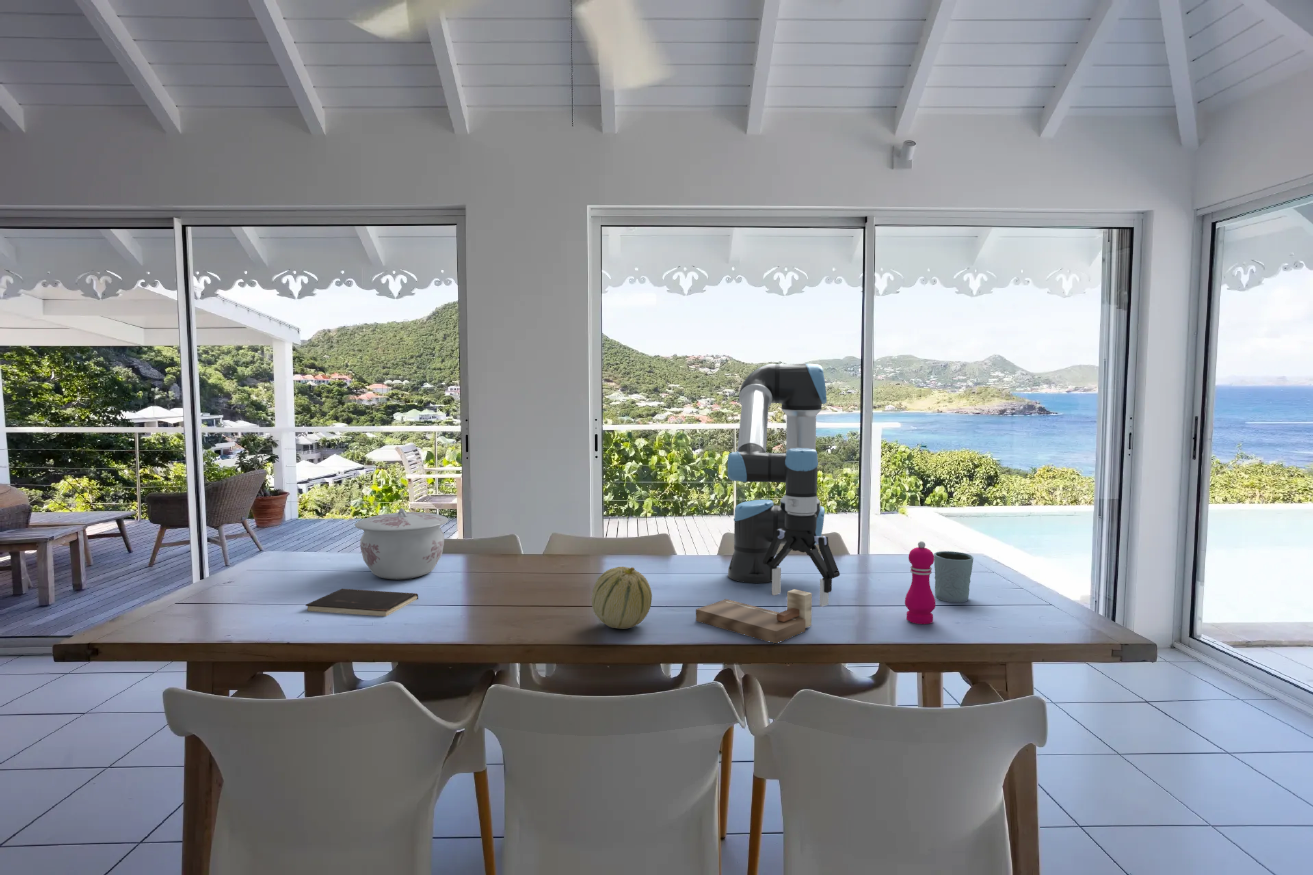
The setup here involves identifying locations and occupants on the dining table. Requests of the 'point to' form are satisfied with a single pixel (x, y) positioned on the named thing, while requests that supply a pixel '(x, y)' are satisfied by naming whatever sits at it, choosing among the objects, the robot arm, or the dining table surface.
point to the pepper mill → (920, 586)
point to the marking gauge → (797, 607)
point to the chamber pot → (402, 543)
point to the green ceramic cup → (952, 575)
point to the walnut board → (749, 620)
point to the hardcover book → (362, 602)
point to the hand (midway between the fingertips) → (799, 599)
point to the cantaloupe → (621, 597)
